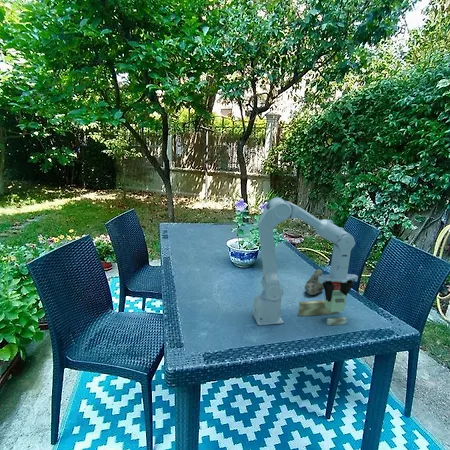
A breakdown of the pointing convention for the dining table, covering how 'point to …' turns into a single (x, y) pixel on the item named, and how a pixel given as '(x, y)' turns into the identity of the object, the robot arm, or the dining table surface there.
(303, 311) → the wall board
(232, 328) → the dining table surface
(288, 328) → the dining table surface
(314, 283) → the mineral rock
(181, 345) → the dining table surface
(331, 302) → the cabinet block
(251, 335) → the dining table surface
